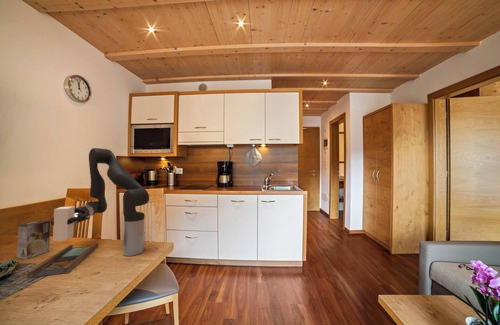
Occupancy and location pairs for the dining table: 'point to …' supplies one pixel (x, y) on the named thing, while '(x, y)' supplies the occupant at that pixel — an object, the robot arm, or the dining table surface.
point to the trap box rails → (60, 254)
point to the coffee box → (33, 239)
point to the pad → (75, 252)
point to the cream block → (63, 223)
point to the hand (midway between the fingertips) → (60, 222)
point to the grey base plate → (55, 271)
